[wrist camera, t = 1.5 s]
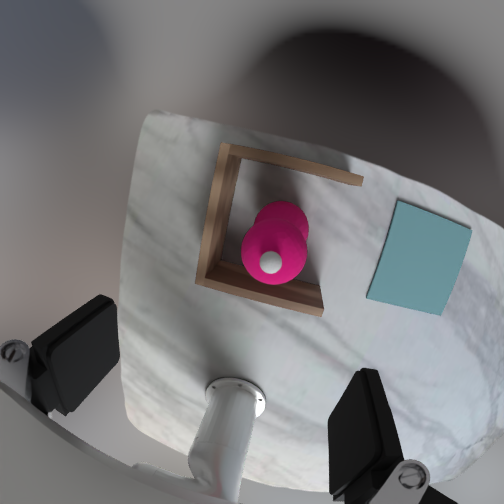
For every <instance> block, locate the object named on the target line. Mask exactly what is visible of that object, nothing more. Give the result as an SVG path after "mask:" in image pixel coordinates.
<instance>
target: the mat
mask: <svg viewBox="0 0 504 504" xmlns="http://www.w3.org/2000/svg"><path fill="white" fill-rule="evenodd" d="M471 234H472V230H470V229H468V228H466V227H463V226H461V225H459V224H456V223H454V222H452V221H449V220H447V219H445V218H442V217H440V216H437V215H435V214H432V213H430V212H427V211H425V210H422V209H419V208H417V207H414V206H411V205H409V204H406V203H403V202H400V201H397V203H396V207H395V210H394V214H393V218H392V221H391V225H390V228H389V231H388V235H387V238H386V241H385V245H384V248H383V251H382V254H381V257H380V260H379V263H378V266H377V269H376V271H375V274H374V277H373V280H372V282H371V285H370V288H369V290H368V293H367V296H366V298H367V299H371V300H375V301H379V302H384V303H388V304H392V305H396V306H401V307H405V308H409V309H414V310H418V311H422V312H427V313H431V314H436V315H440V316H441V314H442V312H443V310H444V308H445V305H446V303H447V301H448V298H449V296H450V294H451V291H452V289H453V286H454V284H455V281H456V279H457V276H458V274H459V271H460V268H461V265H462V262H463V260H464V257H465V254H466V251H467V247H468V244H469V241H470V238H471Z"/></svg>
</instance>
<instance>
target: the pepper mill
mask: <svg viewBox="0 0 504 504" xmlns="http://www.w3.org/2000/svg"><path fill="white" fill-rule="evenodd" d="M308 232H309V225H308V221H307V218H306V216H305V214H304V213H303V211H302V210H301V209H300V208H299V207H297V206H296V205H294V204H293V203H290V202H286V201H276V202H272V203H270V204H268V205H266V206H265V207H263V208H262V209H261V210H260V212H259V213H258V215H257V217H256V219H255V222H254V225H253V226H252V227H251V228H250V229H249V231H248V232H247V233H246V235H245V237H244V239H243V242H242V246H241V257H242V261H243V264H244V266H245V268H246V269H247V271H248V272H249V273H250V275H251V276H253V277H254V278H255V279H257V280H258V281H260V282H263V283H266V284H272V285H276V284H282V283H286V282H288V281H290V280H292V279H293V278H295V277H296V276H297V275H298V274H299V273H300V271H301V270H302V269H303V267H304V265H305V262H306V258H307V244H306V239H307V237H308Z"/></svg>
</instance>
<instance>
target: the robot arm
mask: <svg viewBox="0 0 504 504" xmlns="http://www.w3.org/2000/svg"><path fill="white" fill-rule="evenodd" d="M31 343H32V347H31V348H29V347H28V345H27V344H26V343H25V342H23V341H21V340H16V339H15V340H9V341H6V342H5V343H3V344H2V345H1V346H0V504H241V503H239V491H240V484H241V478H242V473H243V469H244V465H245V460H246V456H247V452H248V447H249V443H250V438H251V434H252V430H253V425H254V421H255V418H256V417H258V416H259V415H261V414H262V413H263V411H264V409H265V406H266V399H265V396H264V394H263V393H262V391H261V390H260V389H259V388H258V387H256V386H255V385H253V384H252V383H250V382H247V381H245V380H242V379H237V378H221V379H217V380H215V381H213V382H212V383H211V384H210V385H209V386H208V388H207V390H206V394H205V397H206V401H207V403H208V404H209V405H208V408H207V410H206V413H205V415H204V417H203V420H202V422H201V425H200V427H199V429H198V432H197V434H196V437H195V439H194V441H193V444H192V446H191V448H190V451H189V454H188V464H189V468H190V470H191V472H192V474H193V476H194V478H195V479H193V478H189V477H185V476H182V475H179V474H176V473H173V472H170V471H168V470H165V469H163V468H160V467H157V466H155V465H152V464H149V463H145V462H140V463H136V464H135V465H133V466H132V467H130V466H128V465H126V464H124V463H122V462H120V461H118V460H116V459H114V458H112V457H111V456H108V455H107V454H105V453H103V452H101V451H100V450H98V449H96V448H94V447H93V446H91V445H89V444H88V443H86V442H84V441H83V440H81V439H80V438H78V437H77V436H75V435H74V434H72V433H70V432H69V431H68V430H66V429H65V428H63V427H62V426H60V425H59V424H58V423H56V422H55V421H53V420H52V411H53V409H54V408H55V409H56V410H57V411H59V412H60V413H61V414H63V415H64V416H66V415H67V414H68V413H69V412H73V411H75V409H76V408H77V407H78V406H79V405H80V404H81V403H82V401H83V400H84V399H85V398H86V397H87V396H88V395H89V394H90V392H91V391H92V390H93V389H94V388H95V387H96V386H97V385H98V384H99V383H100V381H101V380H102V379H103V378H104V377H105V376H106V375H107V374H108V373H109V371H110V370H111V369H112V368H113V367H114V366H115V365H116V364H117V363H118V361H119V358H120V352H119V340H118V325H117V307H116V304H114V301H113V299H111V298H109V297H106V296H104V295H98V296H96V297H95V298H93V299H92V300H90V301H89V302H87V303H86V304H84V305H83V306H81V307H80V308H78V309H77V310H76V311H74V312H73V313H71V314H70V315H68V316H67V317H65V318H64V319H62V320H61V321H60V322H59V323H57V324H55V325H54V326H52V327H51V328H50V329H48V330H47V331H46V332H44V333H43V334H41V335H40V336H38V337H37V338H36V339H35V340H33V341H32V342H31ZM328 444H329V492H330V494H331V495H333V501H344V502H345V504H458V503H457V502H455V501H453V500H452V499H450V498H448V497H447V496H445V495H443V494H442V493H440V492H439V491H437V490H436V489H434V488H432V487H431V486H429V482H430V474H429V471H428V469H427V468H426V466H425V465H424V464H422V463H421V462H419V461H417V460H412V459H409V460H404V457H403V453H402V449H401V445H400V441H399V437H398V433H397V430H396V426H395V422H394V419H393V415H392V412H391V409H390V407H389V404H388V401H387V398H386V394H385V391H384V388H383V385H382V382H381V379H380V376H379V373H378V371H377V370H375V369H368V368H362V369H361V370H360V371H356V372H355V374H354V376H353V377H352V379H351V381H350V383H349V385H348V386H347V388H346V390H345V392H344V393H343V395H342V397H341V398H340V400H339V402H338V403H337V405H336V407H335V408H334V410H333V411H332V413H331V415H330V416H329V419H328Z"/></svg>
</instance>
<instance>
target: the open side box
mask: <svg viewBox="0 0 504 504" xmlns="http://www.w3.org/2000/svg"><path fill="white" fill-rule="evenodd" d="M242 158H243V159H248V160H253V161H258V162H262V163H267V164H271V165H276V166H280V167H284V168H289V169H293V170H297V171H301V172H305V173H309V174H313V175H316V176H320V177H324V178H327V179H331V180H334V181H338V182H341V183H345V184H348V185H355V186H362V182H363V178H364V177H363V176H360V175H357V174H354V173H350V172H347V171H344V170H340V169H337V168H333V167H330V166H326V165H323V164H319V163H315V162H311V161H307V160H303V159H299V158H295V157H291V156H287V155H283V154H278V153H274V152H269V151H264V150H259V149H254V148H249V147H244V146H239V145H233V144H227V143H221V144H220V148H219V153H218V158H217V162H216V167H215V172H214V177H213V182H212V187H211V192H210V197H209V202H208V208H207V213H206V219H205V224H204V230H203V236H202V242H201V248H200V254H199V260H198V267H197V273H196V280H195V284H198V285H201V286H205V287H208V288H212V289H215V290H219V291H222V292H226V293H229V294H233V295H236V296H240V297H244V298H247V299H251V300H255V301H259V302H262V303H266V304H270V305H274V306H278V307H282V308H286V309H290V310H294V311H298V312H302V313H306V314H310V315H315V316H319V317H321V316H322V314H323V311H324V306H323V300H322V295H321V289H320V286H319V285H315V284H311V283H307V282H303V281H299V280H295V279H292V280H290V281H288V282H286V283H282V284H276V285H272V284H266V283H263V282H260V281H258V280H257V279H255V278H254V277H253V276H251V275H250V273H249V272H248V271H247V269H246V268H245V266H241V265H237V264H233V263H230V262H226V261H222V260H221V256H222V251H223V246H224V241H225V235H226V230H227V225H228V220H229V215H230V210H231V206H232V201H233V196H234V191H235V186H236V182H237V177H238V172H239V168H240V163H241V159H242Z"/></svg>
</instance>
